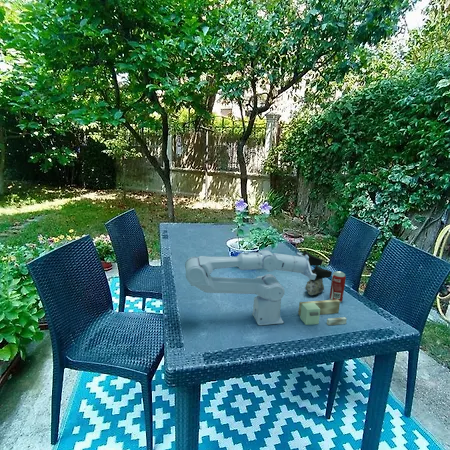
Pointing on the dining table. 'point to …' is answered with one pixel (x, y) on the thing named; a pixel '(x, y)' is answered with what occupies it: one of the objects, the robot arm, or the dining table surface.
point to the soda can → (337, 286)
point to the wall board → (327, 310)
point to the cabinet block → (310, 313)
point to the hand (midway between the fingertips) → (326, 268)
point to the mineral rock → (314, 287)
